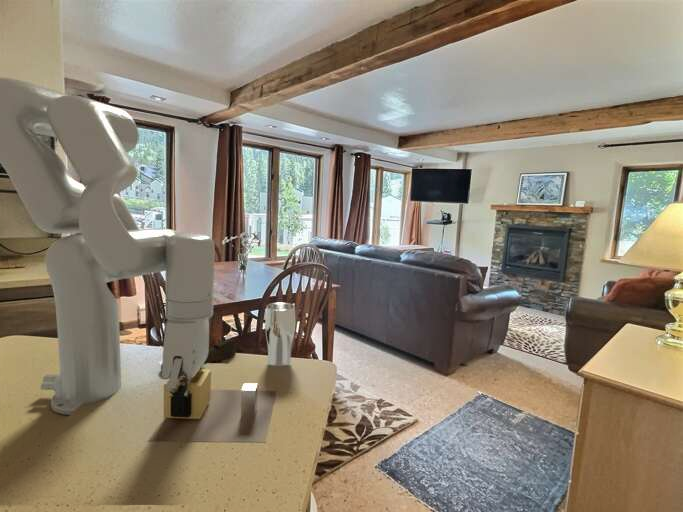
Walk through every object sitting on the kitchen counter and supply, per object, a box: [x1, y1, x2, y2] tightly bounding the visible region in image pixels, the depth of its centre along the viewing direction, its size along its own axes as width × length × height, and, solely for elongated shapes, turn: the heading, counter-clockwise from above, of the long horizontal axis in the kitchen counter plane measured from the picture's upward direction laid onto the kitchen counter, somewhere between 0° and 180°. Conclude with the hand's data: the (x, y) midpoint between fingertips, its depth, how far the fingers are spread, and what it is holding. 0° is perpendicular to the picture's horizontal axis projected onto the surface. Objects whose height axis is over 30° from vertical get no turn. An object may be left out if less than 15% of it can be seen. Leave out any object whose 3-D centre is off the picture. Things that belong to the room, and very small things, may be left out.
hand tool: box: [160, 338, 237, 372], centre depth 86 cm, size 19×4×5 cm, turn 143°
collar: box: [163, 368, 212, 419], centre depth 65 cm, size 6×6×6 cm
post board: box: [147, 383, 278, 443], centre depth 65 cm, size 18×16×6 cm
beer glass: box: [264, 302, 296, 367], centre depth 87 cm, size 7×7×15 cm
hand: (188, 404), depth 65 cm, fingers closed on collar, 6 cm apart
